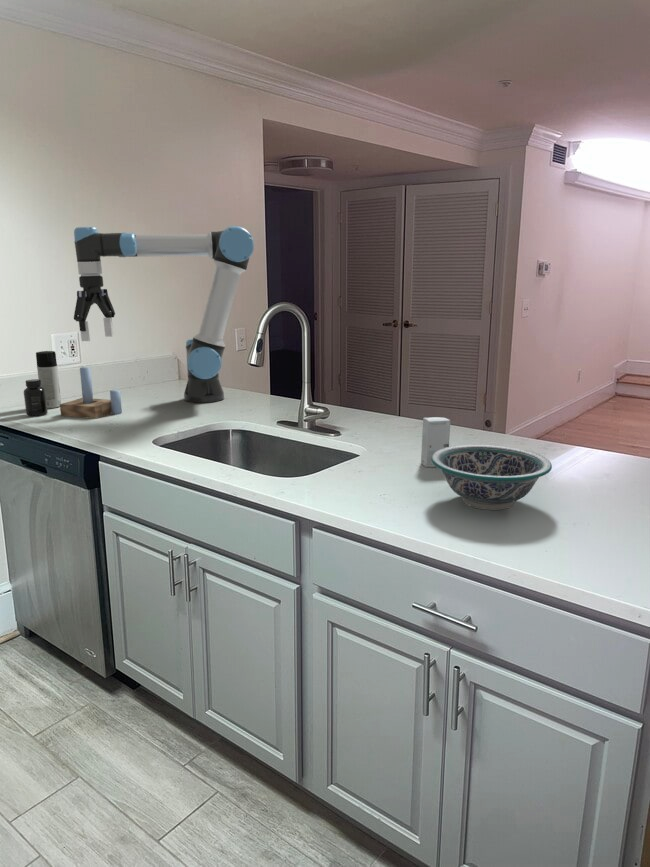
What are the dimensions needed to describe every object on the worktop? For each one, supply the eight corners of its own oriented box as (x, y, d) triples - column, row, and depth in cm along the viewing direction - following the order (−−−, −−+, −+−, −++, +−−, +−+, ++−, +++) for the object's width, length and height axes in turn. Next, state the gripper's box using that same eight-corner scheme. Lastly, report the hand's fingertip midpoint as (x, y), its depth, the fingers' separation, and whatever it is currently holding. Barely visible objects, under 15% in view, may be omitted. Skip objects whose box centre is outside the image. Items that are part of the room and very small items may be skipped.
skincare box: (426, 467, 166) (428, 421, 163) (420, 462, 170) (421, 417, 167) (449, 466, 167) (451, 420, 164) (442, 461, 171) (444, 416, 168)
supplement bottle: (51, 412, 227) (48, 378, 224) (41, 417, 221) (37, 382, 218) (32, 412, 228) (29, 378, 225) (22, 416, 222) (18, 381, 219)
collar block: (117, 411, 230) (116, 400, 229) (95, 418, 219) (94, 406, 218) (83, 408, 234) (82, 397, 233) (60, 415, 223) (59, 404, 222)
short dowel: (123, 412, 228) (122, 390, 226) (118, 414, 224) (116, 391, 222) (115, 412, 229) (113, 389, 227) (109, 414, 225) (107, 391, 223)
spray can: (65, 406, 238) (59, 351, 233) (48, 409, 232) (42, 353, 227) (53, 404, 241) (48, 350, 236) (37, 407, 236) (31, 352, 231)
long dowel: (96, 412, 227) (92, 367, 223) (90, 414, 224) (86, 368, 220) (88, 412, 228) (84, 366, 224) (81, 414, 225) (77, 368, 221)
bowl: (495, 533, 125) (498, 486, 123) (405, 497, 144) (407, 455, 142) (572, 506, 139) (576, 463, 137) (481, 476, 159) (484, 438, 156)
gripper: (102, 274, 232) (109, 334, 237) (56, 276, 209) (65, 343, 214) (121, 274, 230) (127, 334, 235) (77, 276, 207) (85, 343, 212)
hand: (97, 338), depth 225 cm, fingers open, 13 cm apart
